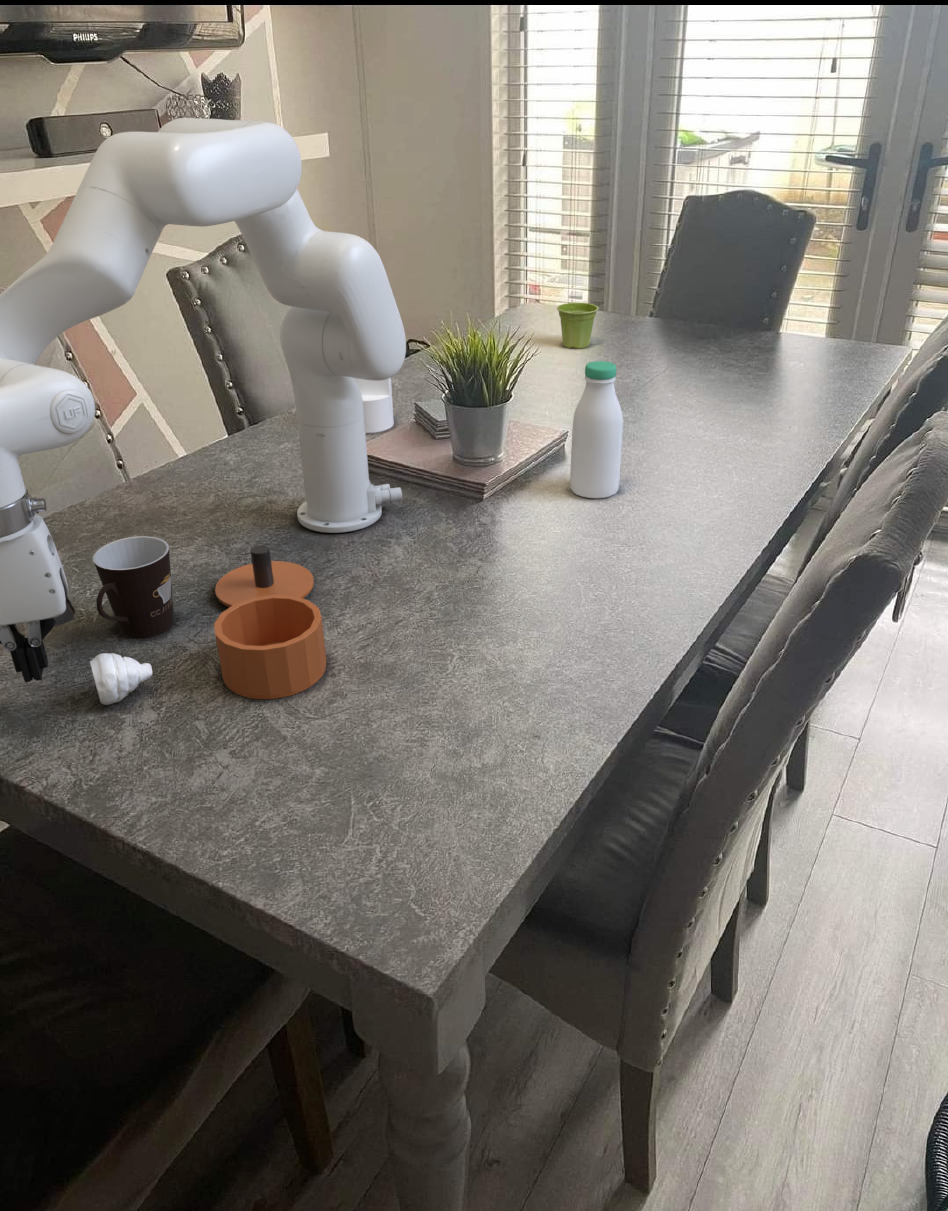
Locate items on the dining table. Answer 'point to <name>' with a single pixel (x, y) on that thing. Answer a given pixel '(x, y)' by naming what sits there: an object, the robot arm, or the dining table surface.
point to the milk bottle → (597, 435)
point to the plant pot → (577, 323)
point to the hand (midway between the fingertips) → (34, 674)
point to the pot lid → (263, 579)
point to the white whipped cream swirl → (117, 676)
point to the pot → (271, 646)
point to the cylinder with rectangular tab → (376, 404)
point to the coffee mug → (136, 585)
